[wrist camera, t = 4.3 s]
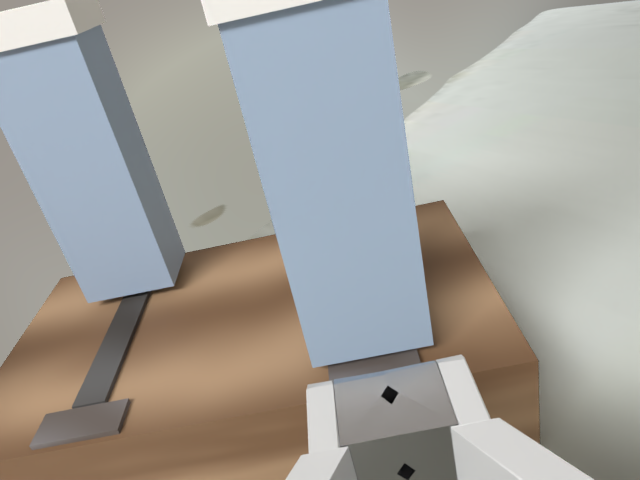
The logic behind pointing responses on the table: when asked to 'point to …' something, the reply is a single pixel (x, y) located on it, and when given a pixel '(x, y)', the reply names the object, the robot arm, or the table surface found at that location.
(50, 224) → the slider
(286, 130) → the slider
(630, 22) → the table surface
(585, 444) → the table surface
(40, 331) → the wooden slider track board
